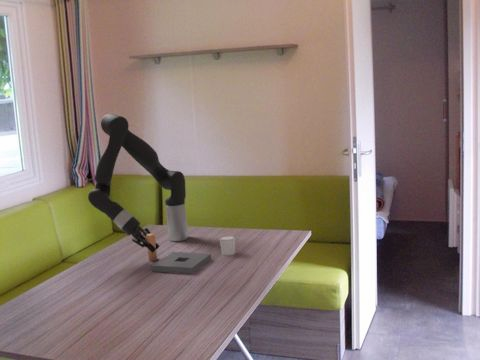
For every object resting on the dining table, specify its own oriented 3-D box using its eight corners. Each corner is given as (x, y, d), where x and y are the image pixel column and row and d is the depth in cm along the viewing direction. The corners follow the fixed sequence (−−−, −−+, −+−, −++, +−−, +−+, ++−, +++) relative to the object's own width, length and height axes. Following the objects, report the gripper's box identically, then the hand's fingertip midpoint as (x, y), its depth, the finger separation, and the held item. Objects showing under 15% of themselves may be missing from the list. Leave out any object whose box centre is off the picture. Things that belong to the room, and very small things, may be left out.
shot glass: (236, 255, 239) (235, 239, 238) (220, 256, 240) (218, 240, 238) (236, 250, 246) (235, 235, 245) (221, 251, 246) (219, 236, 245)
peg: (151, 257, 245) (148, 233, 243) (158, 258, 243) (156, 233, 241) (147, 260, 241) (144, 235, 240) (154, 260, 240) (151, 236, 238)
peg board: (173, 257, 243) (173, 251, 243) (211, 259, 236) (210, 253, 236) (152, 271, 227) (151, 265, 226) (192, 274, 220) (191, 267, 219)
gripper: (125, 220, 234) (155, 248, 233) (138, 212, 247) (167, 238, 247) (114, 233, 236) (145, 260, 235) (128, 224, 250) (156, 250, 249)
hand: (156, 249), depth 241 cm, fingers closed on peg, 3 cm apart
